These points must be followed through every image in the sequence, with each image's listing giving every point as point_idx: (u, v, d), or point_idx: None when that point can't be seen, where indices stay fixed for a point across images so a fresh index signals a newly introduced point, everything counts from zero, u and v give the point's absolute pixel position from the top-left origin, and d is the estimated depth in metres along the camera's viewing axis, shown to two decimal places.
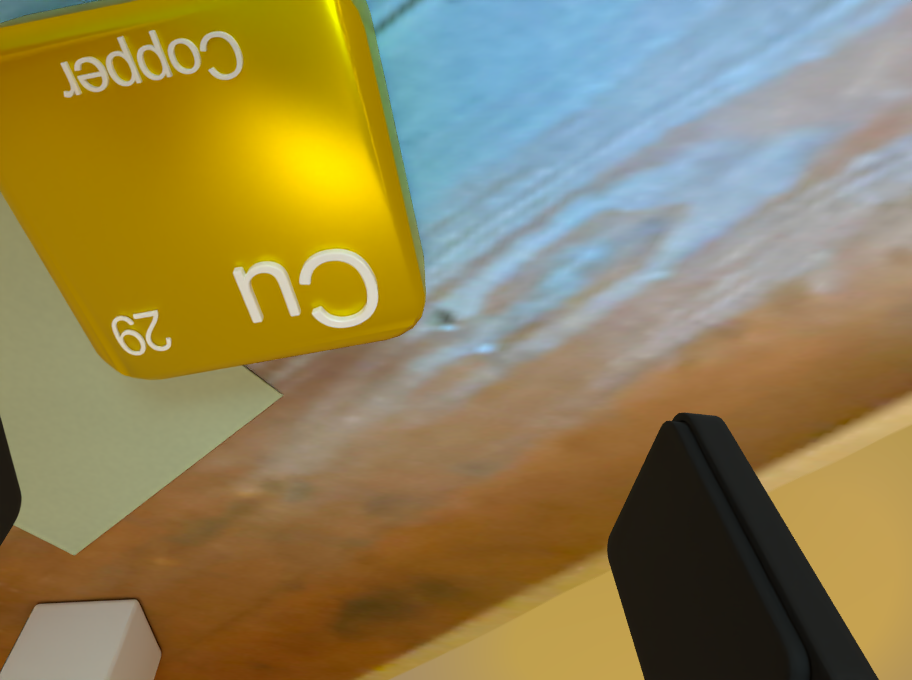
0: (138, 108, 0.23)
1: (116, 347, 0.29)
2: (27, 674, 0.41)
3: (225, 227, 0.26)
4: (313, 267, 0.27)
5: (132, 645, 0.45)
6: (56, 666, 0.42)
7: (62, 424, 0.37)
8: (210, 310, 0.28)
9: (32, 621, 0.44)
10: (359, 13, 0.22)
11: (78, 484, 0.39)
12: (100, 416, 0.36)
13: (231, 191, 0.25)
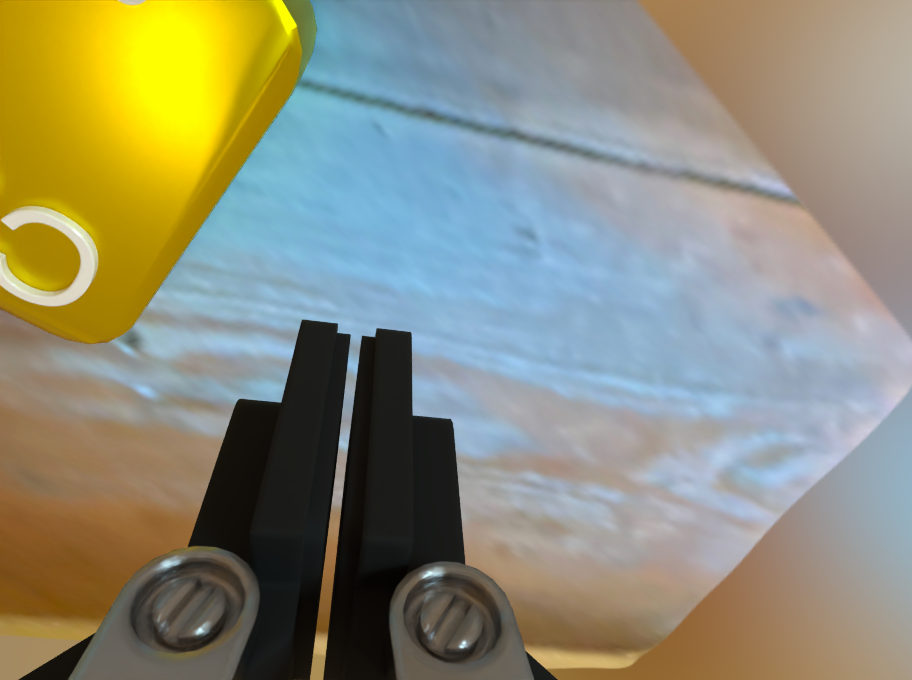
0: None
1: None
2: None
3: None
4: (33, 220, 0.21)
5: None
6: None
7: None
8: None
9: None
10: (296, 80, 0.20)
11: None
12: None
13: (9, 79, 0.19)
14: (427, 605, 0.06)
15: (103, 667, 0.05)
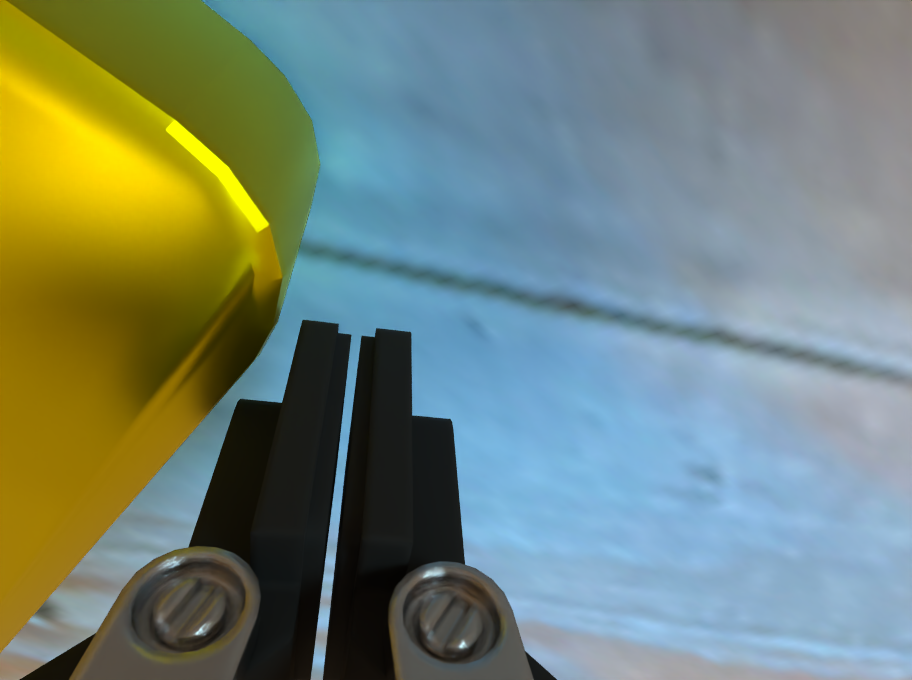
0: None
1: None
2: None
3: None
4: None
5: None
6: None
7: None
8: None
9: None
10: (270, 331, 0.08)
11: None
12: None
13: None
14: (427, 605, 0.06)
15: (104, 667, 0.05)
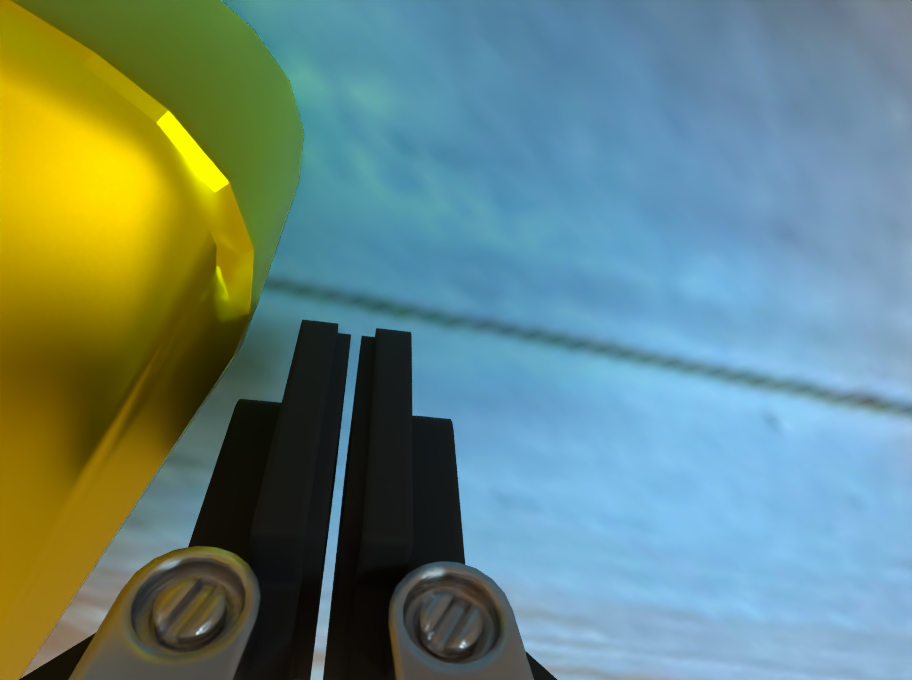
0: None
1: None
2: None
3: None
4: None
5: None
6: None
7: None
8: None
9: None
10: (248, 319, 0.07)
11: None
12: None
13: None
14: (427, 605, 0.06)
15: (103, 667, 0.05)
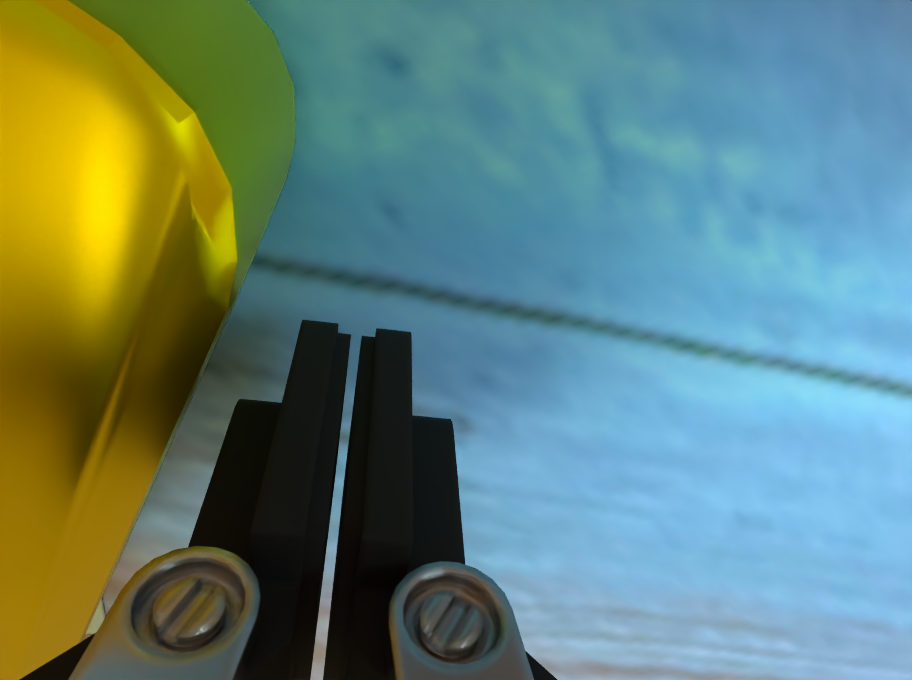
0: None
1: None
2: None
3: None
4: None
5: None
6: None
7: None
8: None
9: None
10: (237, 267, 0.06)
11: None
12: None
13: None
14: (427, 605, 0.06)
15: (103, 667, 0.05)
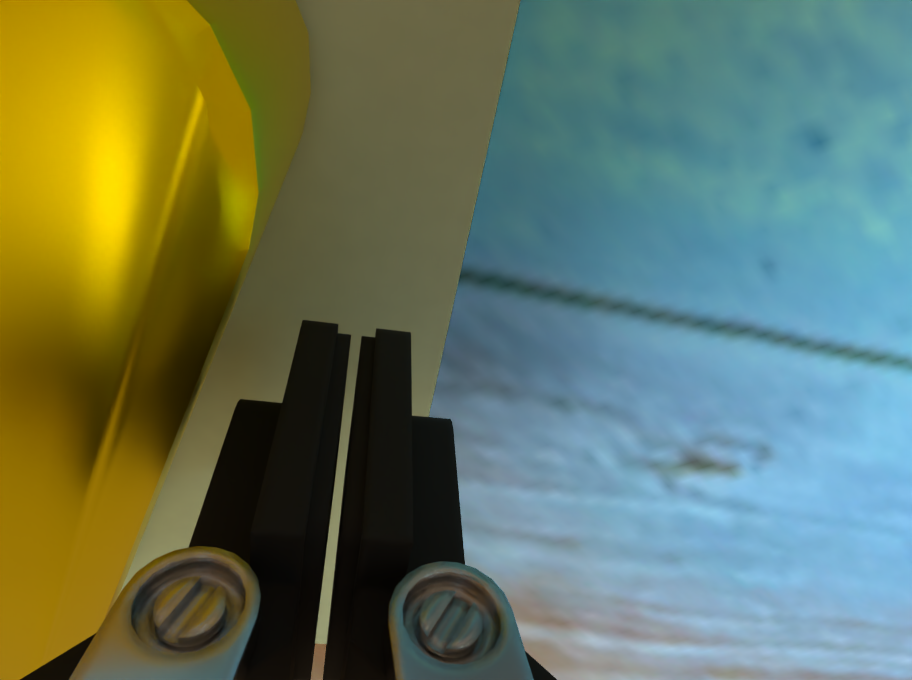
0: None
1: None
2: None
3: None
4: None
5: None
6: None
7: None
8: None
9: None
10: (257, 201, 0.06)
11: None
12: None
13: None
14: (427, 605, 0.06)
15: (104, 668, 0.05)
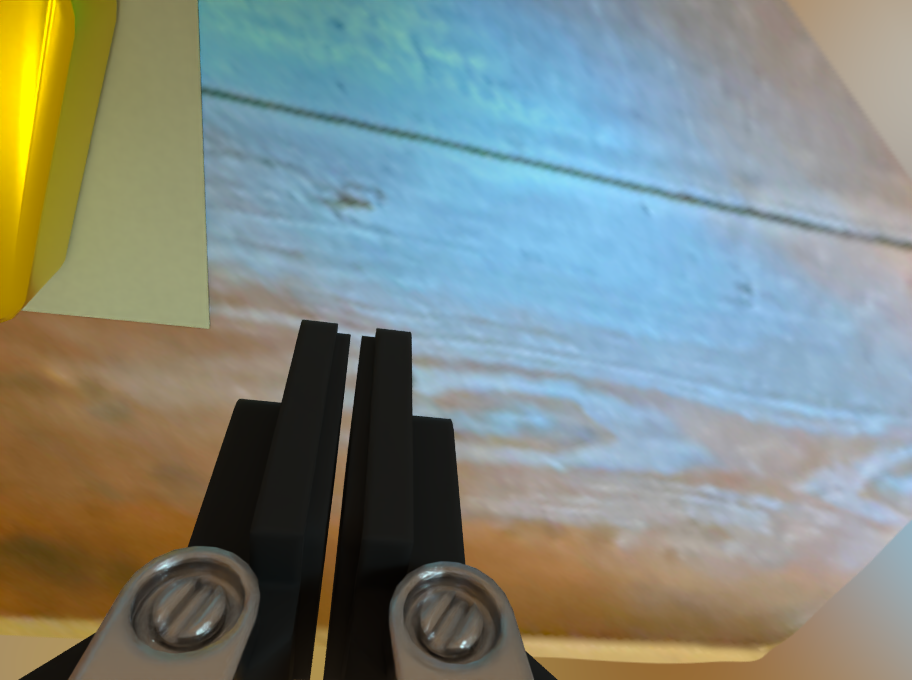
0: None
1: None
2: None
3: None
4: None
5: None
6: None
7: None
8: None
9: None
10: (75, 19, 0.21)
11: None
12: None
13: None
14: (427, 605, 0.06)
15: (103, 667, 0.05)
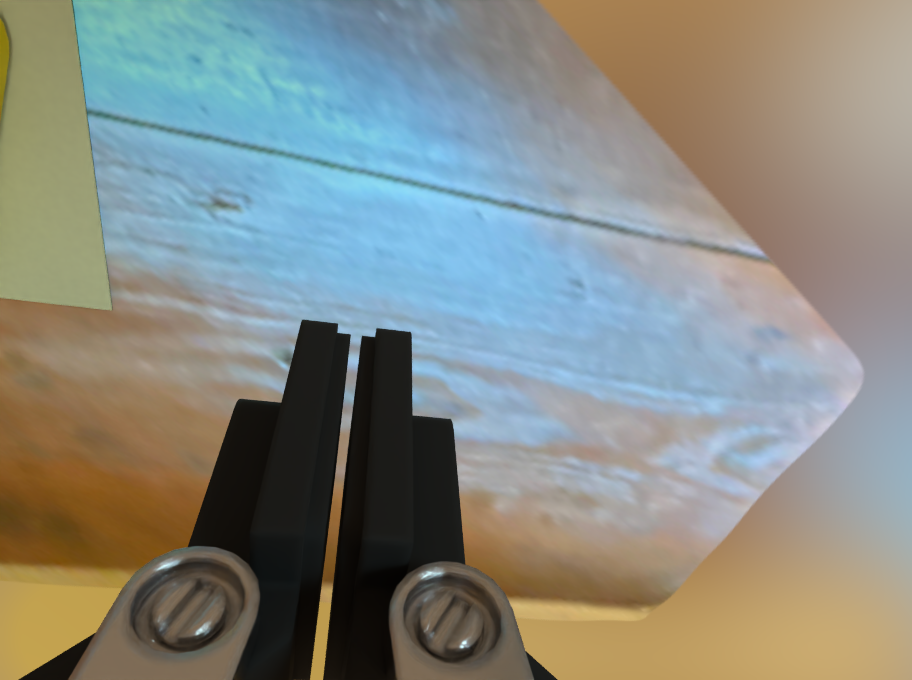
0: None
1: None
2: None
3: None
4: None
5: None
6: None
7: None
8: None
9: None
10: None
11: None
12: None
13: None
14: (427, 605, 0.06)
15: (103, 667, 0.05)
